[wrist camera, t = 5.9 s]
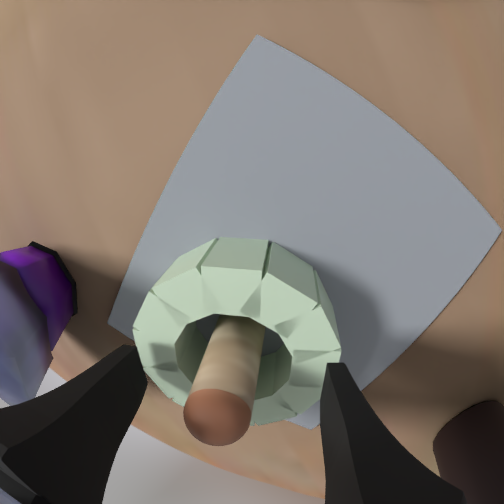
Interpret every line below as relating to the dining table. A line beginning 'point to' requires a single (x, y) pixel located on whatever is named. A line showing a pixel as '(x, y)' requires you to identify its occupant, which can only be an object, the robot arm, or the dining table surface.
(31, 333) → the potion bottle
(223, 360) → the wooden dowel
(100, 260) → the dining table surface
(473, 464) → the vinegar
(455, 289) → the mat
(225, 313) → the bead
